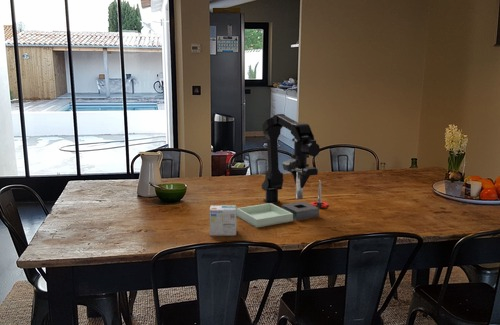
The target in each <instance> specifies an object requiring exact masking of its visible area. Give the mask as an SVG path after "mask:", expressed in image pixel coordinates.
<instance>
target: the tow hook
mask: <svg viewBox="0 0 500 325" xmlns="http://www.w3.org/2000/svg"><path fill="white" fill-rule="evenodd" d="M318 184H319V185H318V196H317V201H312V202H310V204H311V205H313V206H315V207H318V208H319V209H327V207H328V206H329V203H328V202H325V201H322V181H321V180H319V182H318Z"/></svg>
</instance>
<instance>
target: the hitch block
mask: <svg viewBox="0 0 500 325" xmlns="http://www.w3.org/2000/svg"><path fill="white" fill-rule="evenodd" d="M281 208H282V209H284V210H286V211H289V212H291V213H293V221H294V220H295V221H302V220H308V219H313V218H319V217H320V216H319V215H320V208H318V207H315V206H313V205H311V203H308V202H306V201H296V202H291V203H284V204H281Z"/></svg>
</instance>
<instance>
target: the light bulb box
mask: <svg viewBox="0 0 500 325" xmlns="http://www.w3.org/2000/svg"><path fill="white" fill-rule="evenodd" d="M236 208H237V205H236V204H235V205H233V204H232V205H225V204H224V205H212V204H211V205H210V207H209V236H237V230H238V229H237V228H238V226H237V225H238V224H237V220H238V219H237V218H238V217H237V216H236Z"/></svg>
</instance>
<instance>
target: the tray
mask: <svg viewBox="0 0 500 325" xmlns="http://www.w3.org/2000/svg"><path fill="white" fill-rule="evenodd" d="M236 216H237V218H239V219H241V220H243V221H244V222H246V223H248V224H249V225H251V226H253V227H254V228H256V229H258V228H262V227H269V226H274V225H279V224H285V223H286V224H287V223H291V222H294V219H293V213H291V212H289V211H286V210H284V209H282V207H281V206H278V205H276V204H275V203H262V204H257V205H256V204H255V205H249V206H244V207H243V206H241V207H236Z"/></svg>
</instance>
